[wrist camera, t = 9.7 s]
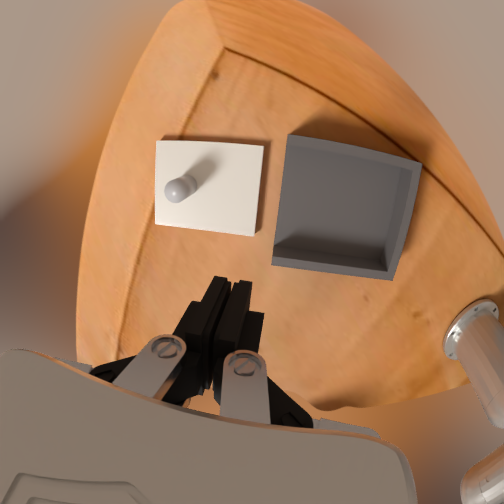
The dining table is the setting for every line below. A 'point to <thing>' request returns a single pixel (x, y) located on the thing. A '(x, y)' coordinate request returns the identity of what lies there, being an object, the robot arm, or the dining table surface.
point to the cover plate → (208, 185)
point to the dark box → (343, 208)
